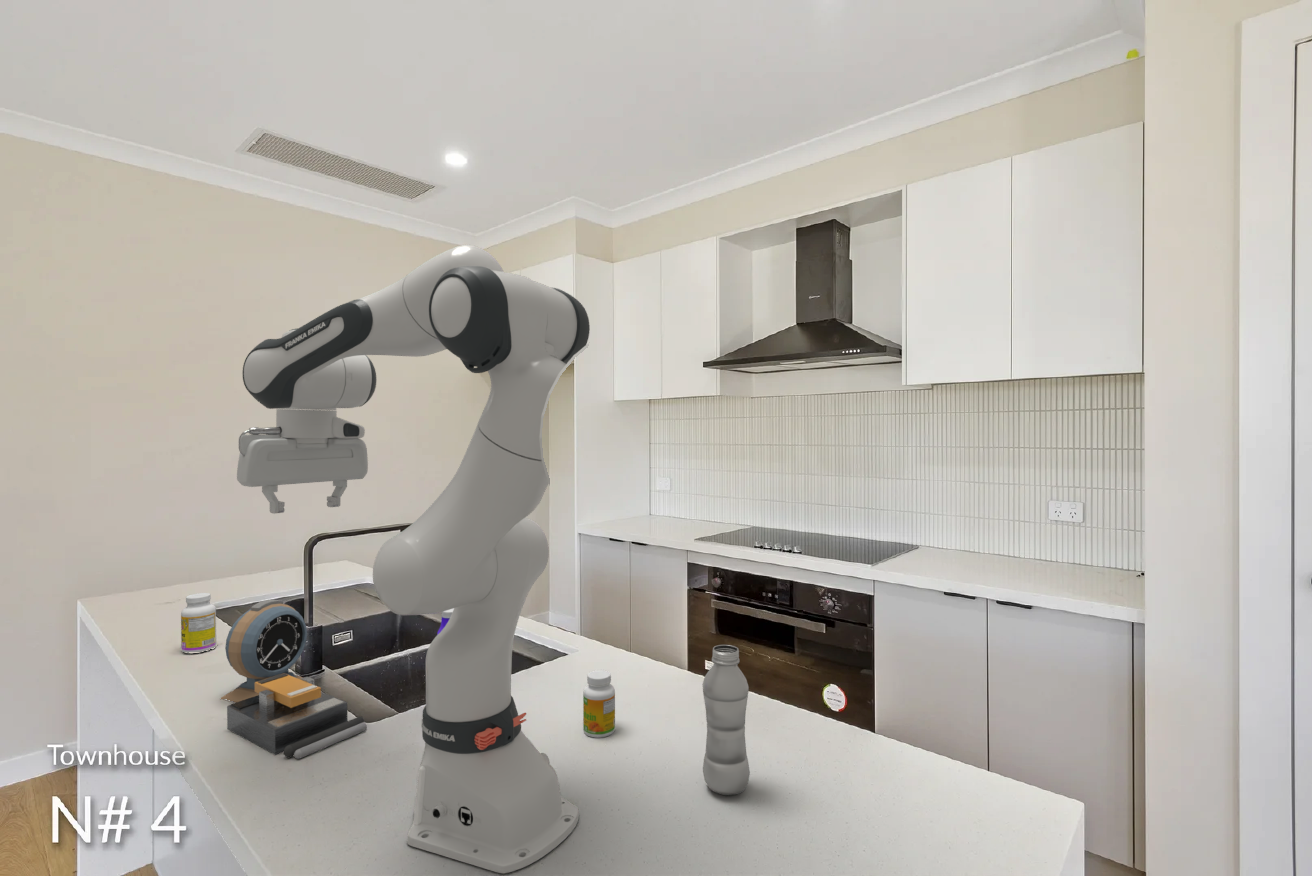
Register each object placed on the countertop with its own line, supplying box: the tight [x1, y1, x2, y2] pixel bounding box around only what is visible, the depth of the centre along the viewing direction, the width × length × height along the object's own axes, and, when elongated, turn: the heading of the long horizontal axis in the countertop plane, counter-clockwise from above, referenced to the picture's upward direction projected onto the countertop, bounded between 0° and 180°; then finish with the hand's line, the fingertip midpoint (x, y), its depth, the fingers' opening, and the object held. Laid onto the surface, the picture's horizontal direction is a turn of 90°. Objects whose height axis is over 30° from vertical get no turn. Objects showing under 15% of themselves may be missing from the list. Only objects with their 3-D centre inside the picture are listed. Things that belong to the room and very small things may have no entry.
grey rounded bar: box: [283, 715, 368, 760], centre depth 104 cm, size 13×3×2 cm, turn 147°
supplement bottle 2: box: [582, 669, 616, 739], centre depth 108 cm, size 5×5×10 cm
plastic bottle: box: [702, 644, 751, 796], centre depth 91 cm, size 6×7×20 cm
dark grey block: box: [226, 676, 349, 756], centre depth 110 cm, size 16×12×7 cm
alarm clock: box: [220, 599, 308, 703], centre depth 126 cm, size 14×10×18 cm
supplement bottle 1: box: [180, 592, 217, 653], centre depth 148 cm, size 7×7×13 cm
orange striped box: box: [255, 673, 322, 708], centre depth 110 cm, size 12×5×2 cm, turn 57°
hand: (306, 509), depth 107 cm, fingers open, 8 cm apart
